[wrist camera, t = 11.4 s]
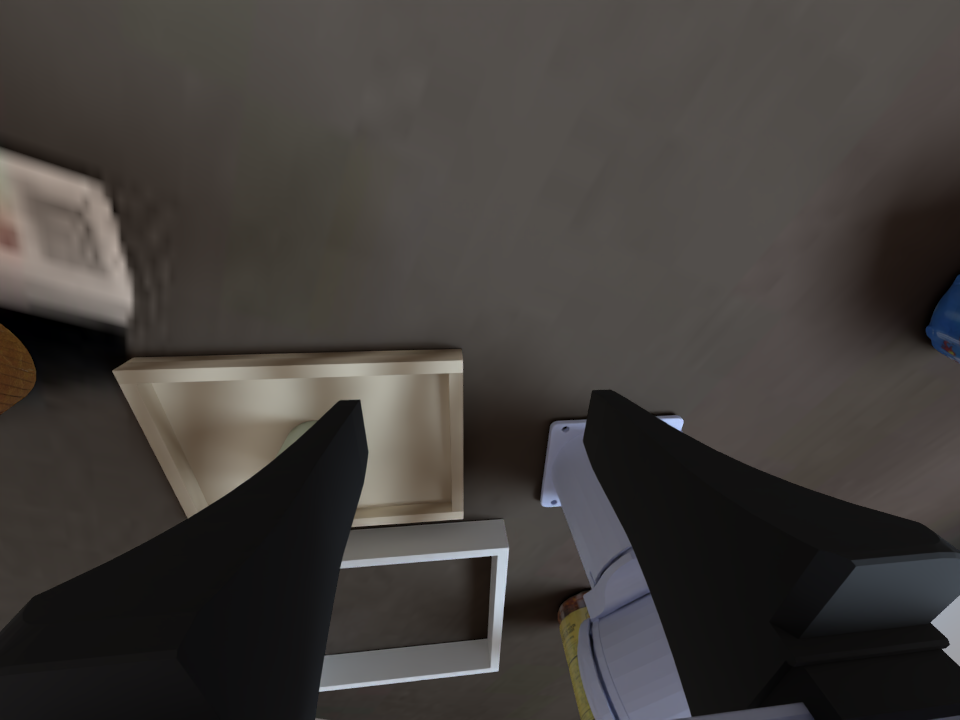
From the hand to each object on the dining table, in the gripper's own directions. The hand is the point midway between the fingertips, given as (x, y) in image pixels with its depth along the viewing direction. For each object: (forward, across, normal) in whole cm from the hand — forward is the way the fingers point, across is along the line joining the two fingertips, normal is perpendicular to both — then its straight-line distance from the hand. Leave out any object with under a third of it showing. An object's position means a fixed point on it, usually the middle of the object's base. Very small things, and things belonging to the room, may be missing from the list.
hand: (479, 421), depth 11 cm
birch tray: (+10, +9, +9) cm, 16 cm away
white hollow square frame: (+10, +6, +27) cm, 30 cm away
